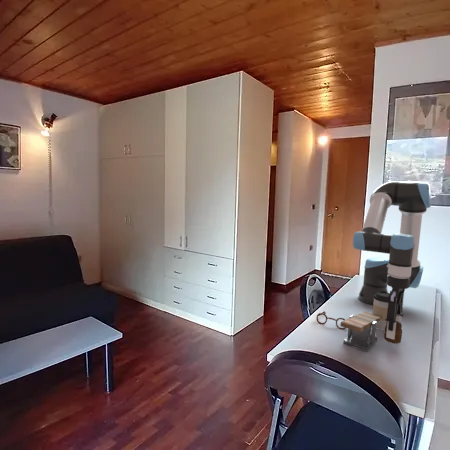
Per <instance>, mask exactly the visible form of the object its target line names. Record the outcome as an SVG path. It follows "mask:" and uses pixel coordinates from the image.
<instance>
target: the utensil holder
mask: <svg viewBox="0 0 450 450" xmlns="http://www.w3.org/2000/svg"><path fill="white" fill-rule="evenodd" d="M397 316H398V314H397ZM397 316H396V317H397ZM398 317H400V322H398V320H397V321H396V329H395V339H394V340H393V339H390V338H387V337H386V333H387V323H388V321H387V322H386V326H385V330H384V331H383V332H384V333H383V338H384V340H385V341H386V342H388V343H390V344H395V345H396V344H400V343H401V342H402V336H403V329H402V328H403V325H402V323H401V322H402V319H403V318H402V317H401V315H399V316H398Z"/></svg>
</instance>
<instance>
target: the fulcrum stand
mask: <svg viewBox="0 0 450 450" xmlns="http://www.w3.org/2000/svg"><path fill="white" fill-rule="evenodd" d="M353 316H355V315H354V314H351V315H349V316H348V319H349V318H351V317H353ZM376 324H377V321H374V322H373V323H372V326H370V327H368V328H367V329H365V330H363V331H362V332H358V331H354V330H351V329H348V328H347V337H345V338H344V339H343V342H342V343H343V345H347V346H349V347H352V348H354V349H358V350H360V351H363V352H367V353H368V352H369V351H370V350H371V349H372V348H373V346H374V345H375V344H376V343H377V342H378V336H376V333H377V328H376Z"/></svg>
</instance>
